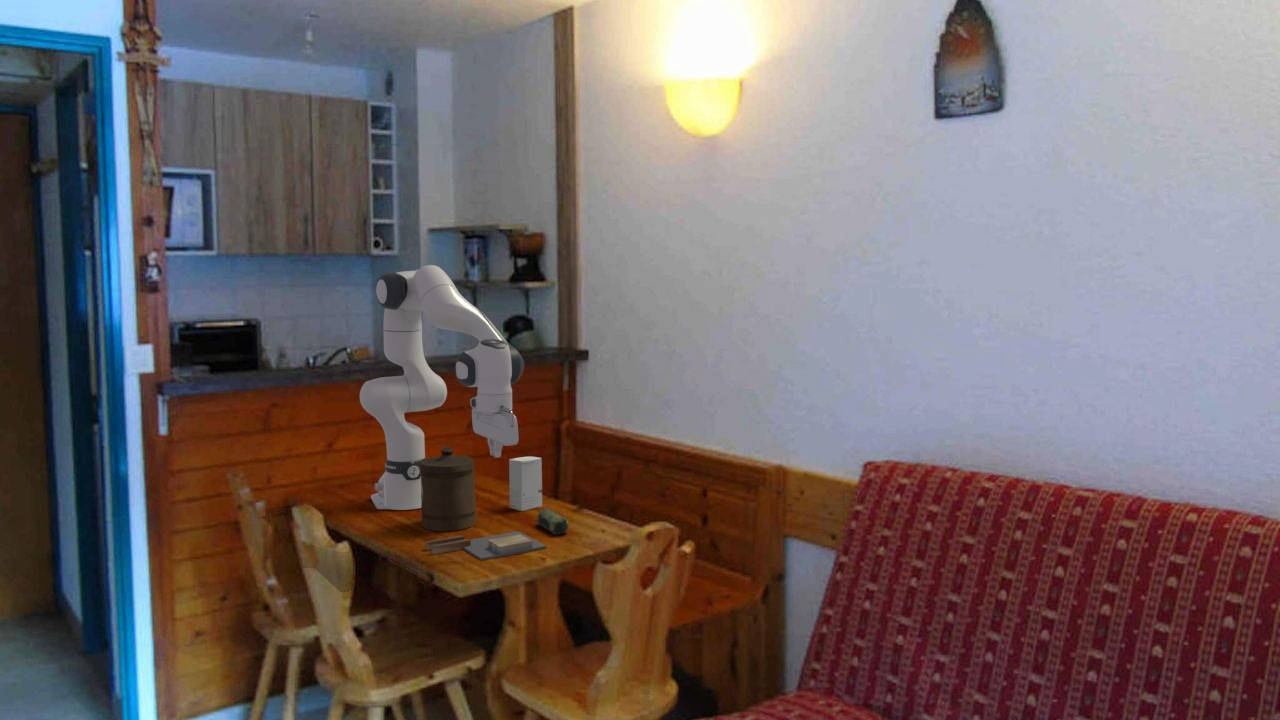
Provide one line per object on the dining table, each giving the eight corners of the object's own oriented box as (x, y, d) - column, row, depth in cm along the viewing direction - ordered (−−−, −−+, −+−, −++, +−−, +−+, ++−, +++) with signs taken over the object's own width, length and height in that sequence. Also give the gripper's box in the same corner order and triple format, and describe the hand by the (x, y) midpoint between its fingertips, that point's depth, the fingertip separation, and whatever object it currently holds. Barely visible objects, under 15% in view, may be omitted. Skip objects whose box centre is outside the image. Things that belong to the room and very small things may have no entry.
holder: (425, 549, 256) (425, 541, 256) (461, 542, 262) (461, 535, 261) (433, 554, 251) (433, 546, 251) (470, 547, 257) (470, 540, 257)
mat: (455, 544, 260) (455, 542, 260) (518, 533, 270) (518, 531, 270) (481, 560, 247) (481, 558, 246) (546, 548, 256) (546, 545, 256)
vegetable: (571, 535, 268) (571, 516, 268) (553, 537, 266) (553, 519, 265) (550, 522, 281) (550, 505, 280) (533, 525, 278) (533, 507, 278)
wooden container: (444, 514, 289) (442, 439, 286) (486, 521, 282) (484, 444, 279) (410, 527, 276) (408, 449, 273) (453, 534, 269) (451, 454, 266)
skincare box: (521, 511, 291) (520, 461, 290) (508, 508, 295) (507, 458, 294) (543, 506, 297) (542, 457, 296) (530, 502, 301) (529, 454, 300)
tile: (487, 540, 255) (499, 546, 249) (519, 534, 260) (532, 540, 254) (488, 547, 255) (500, 554, 249) (519, 541, 260) (532, 548, 254)
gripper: (524, 408, 248) (525, 462, 250) (489, 396, 265) (490, 447, 267) (501, 410, 245) (502, 466, 247) (467, 398, 262) (468, 450, 264)
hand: (495, 456), depth 257 cm, fingers closed
